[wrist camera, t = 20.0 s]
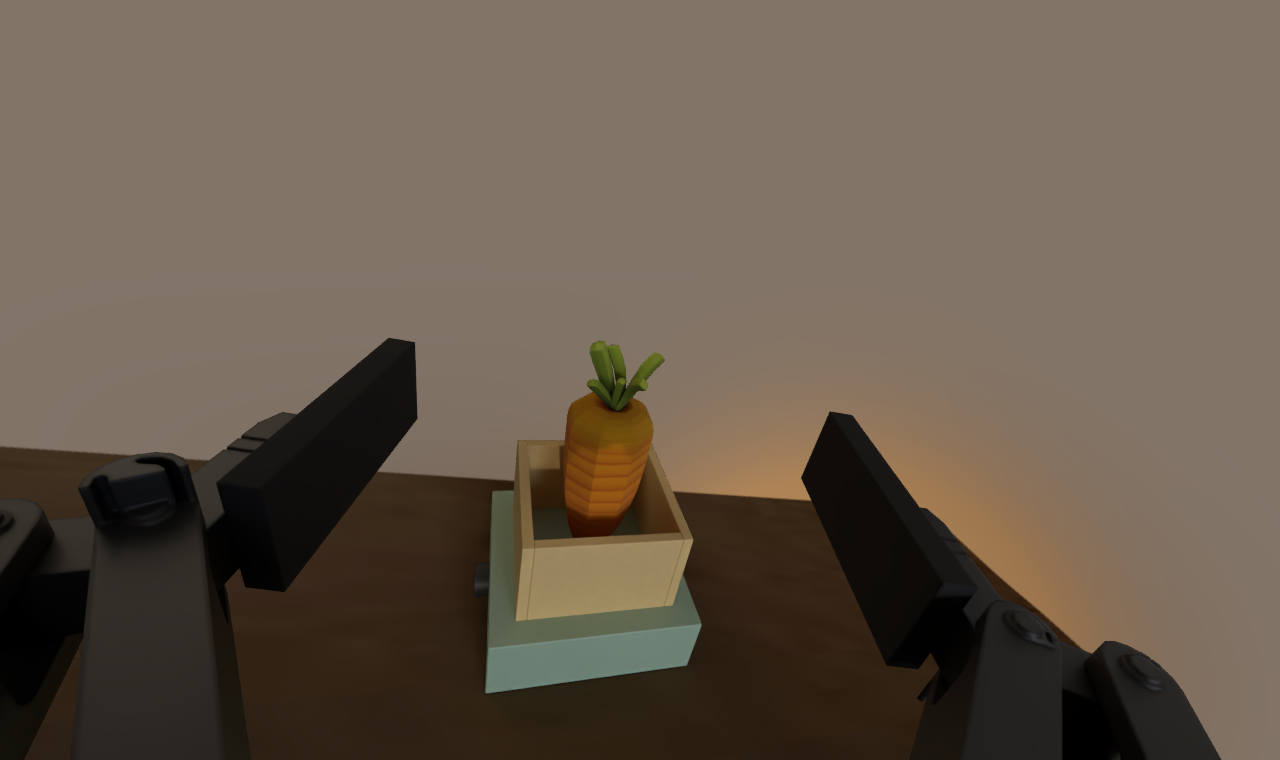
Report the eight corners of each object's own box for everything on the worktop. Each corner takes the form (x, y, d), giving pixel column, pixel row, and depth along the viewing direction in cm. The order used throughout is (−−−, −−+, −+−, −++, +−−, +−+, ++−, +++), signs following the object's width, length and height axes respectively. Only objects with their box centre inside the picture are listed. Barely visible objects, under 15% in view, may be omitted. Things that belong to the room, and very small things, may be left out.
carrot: (631, 534, 34) (677, 337, 27) (614, 592, 29) (665, 374, 22) (563, 515, 34) (591, 316, 27) (536, 570, 30) (562, 348, 23)
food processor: (467, 696, 26) (471, 576, 22) (477, 531, 36) (481, 427, 32) (687, 666, 30) (726, 558, 26) (641, 524, 40) (664, 429, 36)
